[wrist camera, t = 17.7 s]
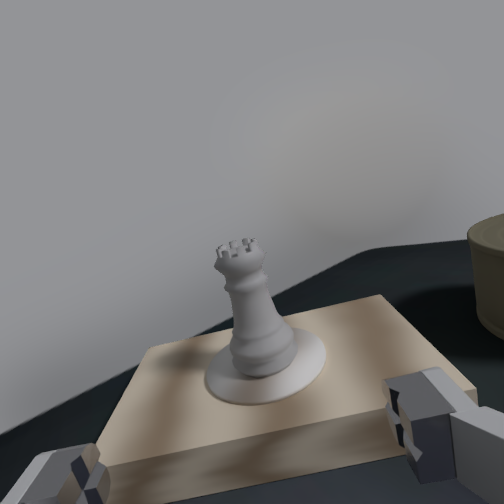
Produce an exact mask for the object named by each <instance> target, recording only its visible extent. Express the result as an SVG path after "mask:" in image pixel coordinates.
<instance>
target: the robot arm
mask: <svg viewBox="0 0 504 504" xmlns="http://www.w3.org/2000/svg"><path fill="white" fill-rule="evenodd" d="M381 385H382V392H383V394H384V396H385V398H386V399H387V401H388V402H387V404H386V406H385V408H386V413H387V418H388V421H389V424H390V427H391V430H392V432H393V435H394V437H395V439H396V441H397V443H398V444H399V445H400V446H401V447H403V448H405V452H406V458H407V461H408V463H409V465H410V467H411V468H412V470H413V472H414V474H415V476H416V478H417V479H418V481H419V483H420V485H421V484H427V483H433V482H439V481H445V480H451V479H457V480H458V481H459V482H460V483H462V484H463V485H465V486H466V487H467V488H469V489H470V490H472V491H473V492H474V493H476V494H477V495H478V496H480V497H481V498H483V499H484V500H485V501H487V502H488V503H489V504H504V414H503V413H501V412H498V411H496V410H493V409H491V408H488V407H486V406H485V407H480V408H479V407H478V406H477V405H476V404H475V403H474V402H473V401H472V399H471V398H470V397H469V396H468V395H467V394H466V393H465V392H464V391H463V390H462V389H461V388H460V387H459V386H458V385H457V384H456V383H455V382H454V381H453V380H452V379H451V378H450V377H449V376H448V375H447V374H446V373H445V372H444V371H443V370H442V369H441V368H440V367H437V366H436V367H432V368H428V369H424V370H420V371H418V372H414V373H409V374H405V375H400V376H396V377H391V378H387V379H382V380H381ZM100 454H101V453H100V451H99V449H98V448H97V446H96V444H92V443H89V444H84V445H78V446H73V447H68V448H63V449H58V450H54V451H49V452H44V453H41V454H39V455H38V456H36V457H35V458H34V459H33V461H32V462H31V463H30V465H29V466H28V467H27V469H26V470H25V471H24V473H23V474H22V475H21V477H20V478H19V480H18V481H17V482H16V484H15V485H14V486H13V488H12V489H11V490H10V492H9V493H8V494H7V496H6V497H5V498H4V500H3V501H2V502H1V504H106V502H107V499H108V497H109V492H110V484H111V481H110V475H109V472H108V469H107V467H106V466H105V465H103V464H102V463H100V462H99V461H98V460H99V457H100Z"/></svg>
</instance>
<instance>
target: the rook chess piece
mask: <svg viewBox="0 0 504 504" xmlns="http://www.w3.org/2000/svg"><path fill="white" fill-rule="evenodd" d="M242 242H243V246H239V247H238V245H237V241H232V242H229V245H230V248H231V249H230V250H227V249H226V245H221V246H220V247H218V249H217V250H216V252H217V255H218V258H217V260H216V262H215V265H214V267H215V268H216V269H217V270H218V271H219V272H220V273H222V274H223V275H224V276H225V278H226V285H225V287H224V289H225V290H226V291H227V292H229V295H230V298H231V302H232V310H233V317H234V328H233V330H232V334H233V336H232V338H231V341H230V351H231V354H232V356H233V359H232V362H233V365H234V368H236V369H237V370H239V371H240V372H242V373H243V374H245V375H247V376H250V377H256V378H259V377H268V376H271V375H274V374H277V373H280V372H281V371H283V370H284V369H286V368H287V367H288V366H290V364H291V363H292V361H293V360H294V358H295V356H296V354H297V352H298V344H297V343H296V341H295V340H294V332H293V330H292V329H291V327H290V326H289V325H288V324H287V323H286V322H284V319H283V318H282V317H281V315H279V314H278V313H277V311H276V309H275V306H274V304H273V302H272V299H271V297H270V294H269V291H268V287H267V283H266V282H267V279H268V276H267V275H266V274H265V273H264V272H263V270H262V262H263V260H264V258H265V255H266V252H264V251H263V250H262V249H261V248H259V247H258V244H257V240H256V239H255V238H254V239H251V240H250V238H245V239H243V240H242Z"/></svg>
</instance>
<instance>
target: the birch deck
mask: <svg viewBox="0 0 504 504" xmlns="http://www.w3.org/2000/svg"><path fill="white" fill-rule="evenodd" d="M282 318H283V319H284V322H286V323H287V324H288V325H289V326H290V327H291V329H292V330H293V332H294V340H295V341H296V343H297V344H298V352H297V354H296V356H295V358H294V360H293V361H292V363H291V364H290V366H288V367H287V368H286V369H284V370H283V371H281V372H280V373H277V374H274V375H271V376H268V377H259V378H256V377H250V376H247V375H245V374H243V373H242V372H240V371H239V370H237V369H236V368H234V365H233V362H232V359H233V356H232V354H231V351H230V341H231V338H232V336H233V334H232V330H233V328H232V329H228V330H224V331H219V332H215V333H210V334H206V335H202V336H197V337H193V338H189V339H185V340H180V341H176V342H172V343H167V344H163V345H158V346H154V347H150V348H149V349H148V351H147V352H146V354H145V356H144V358H143V360H142V361H141V363H140V365H139V367H138V369H137V370H136V372H135V374H134V376H133V378H132V379H131V381H130V383H129V385H128V387H127V388H126V390H125V392H124V394H123V396H122V397H121V399H120V401H119V403H118V405H117V407H116V408H115V410H114V412H113V414H112V416H111V417H110V419H109V421H108V423H107V425H106V426H105V428H104V430H103V432H102V434H101V435H100V437H99V439H98V441H97V443H96V446H97V448H98V449H99V451H100V453H101V454H100V457H99V460H98V461H99V462H100V463H102V464H103V465H105V466H106V467H107V469H108V472H109V475H110V481H111V484H110V492H109V497H108V499H107V502H106V504H165V503H169V502H174V501H179V500H184V499H189V498H194V497H199V496H204V495H209V494H214V493H219V492H223V491H228V490H233V489H238V488H243V487H248V486H253V485H258V484H263V483H268V482H272V481H277V480H282V479H287V478H292V477H297V476H302V475H307V474H312V473H317V472H322V471H326V470H331V469H336V468H341V467H346V466H351V465H356V464H361V463H366V462H371V461H376V460H380V459H385V458H390V457H395V456H400V455H405V454H406V452H405V448H403V447H401V446H400V445H399V444H398V443H397V441H396V439H395V437H394V435H393V432H392V430H391V427H390V424H389V421H388V418H387V413H386V408H385V406H386V404H387V402H388V401H387V399H386V398H385V396H384V394H383V392H382V385H381V380H382V379H387V378H391V377H396V376H400V375H405V374H409V373H414V372H418V371H420V370H424V369H428V368H432V367H436V366H437V367H440V368H441V369H442V370H443V371H444V372H445V373H446V374H447V375H448V376H449V377H450V378H451V379H452V380H453V381H454V382H455V383H456V384H457V385H458V386H459V387H460V388H461V389H462V390H463V391H464V392H465V393H466V394H467V395H468V396H469V397H470V398H471V399H472V401H473V402H474V403H475V404H476V405H477V406H478V399H477V388H476V387H475V386H474V385H473V384H472V383H470V382H469V381H468V380H467V379H466V378H465V377H464V376H463V375H462V374H461V373H460V372H459V371H458V370H457V369H456V368H455V367H454V366H453V365H452V364H451V363H450V362H449V361H448V360H447V359H446V358H445V357H444V356H443V355H442V354H441V353H440V352H439V351H438V350H437V349H436V348H435V347H434V346H433V345H432V344H431V343H429V342H428V341H427V340H426V339H425V338H424V337H423V336H422V335H421V334H420V333H419V332H418V331H417V330H416V329H415V328H414V327H413V326H412V325H411V324H410V323H409V322H408V321H407V320H406V319H405V318H404V317H403V316H402V315H401V314H400V313H399V312H398V311H397V310H396V309H395V308H394V307H393V306H392V305H391V304H389V303H388V302H387V301H386V300H385V299H384V298H383V297H382V296H381V295H376V296H371V297H367V298H363V299H358V300H354V301H350V302H345V303H341V304H337V305H332V306H328V307H324V308H319V309H315V310H310V311H306V312H302V313H297V314H293V315H289V316H284V317H282Z"/></svg>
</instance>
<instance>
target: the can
mask: <svg viewBox="0 0 504 504" xmlns="http://www.w3.org/2000/svg"><path fill="white" fill-rule="evenodd" d="M467 240H468V242H469V244H470V248H471V255H472V264H473V274H474V285H475V295H476V303H477V306H476V308H477V316H478V319H479V320H480V322H481V323H482V325H483V326H484V327H485V328H486V329H487V330H489V331H490V332H491V333H492V334H494V335H496V336H497V337H499V338H501V339H502V340H504V214H501V215H497V216H494V217H491V218H488V219H485V220H483V221H481V222H479V223H477V224H475V225H474V226H472V227H471V228H470V229H469V230H468V232H467Z"/></svg>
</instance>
